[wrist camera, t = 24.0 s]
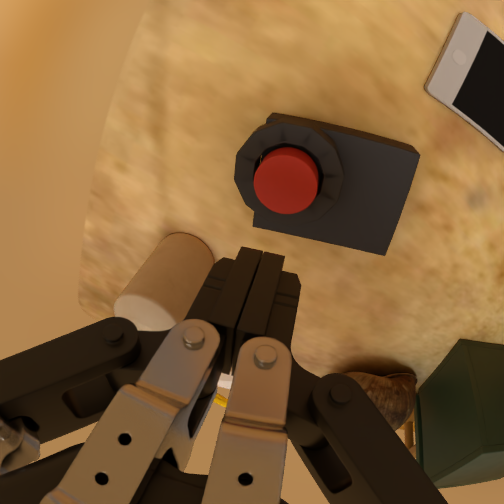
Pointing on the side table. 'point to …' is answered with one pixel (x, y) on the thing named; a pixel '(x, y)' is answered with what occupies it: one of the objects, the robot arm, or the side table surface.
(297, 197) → the red push button
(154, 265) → the candle
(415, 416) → the cupboard door
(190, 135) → the side table surface
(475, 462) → the cupboard
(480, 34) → the smartphone
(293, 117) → the button block
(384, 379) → the seashell
